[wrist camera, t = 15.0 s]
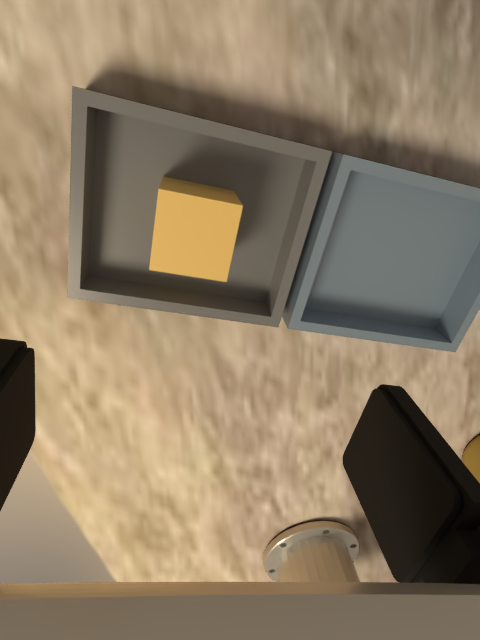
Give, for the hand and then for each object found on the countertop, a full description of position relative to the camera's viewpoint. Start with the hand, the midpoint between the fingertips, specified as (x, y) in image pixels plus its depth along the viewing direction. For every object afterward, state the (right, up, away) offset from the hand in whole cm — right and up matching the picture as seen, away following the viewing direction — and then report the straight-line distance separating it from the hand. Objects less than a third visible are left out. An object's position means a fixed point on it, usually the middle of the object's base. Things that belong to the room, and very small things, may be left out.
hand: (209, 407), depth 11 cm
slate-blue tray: (+13, +8, +21) cm, 26 cm away
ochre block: (-3, +10, +17) cm, 20 cm away
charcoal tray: (-3, +10, +18) cm, 20 cm away
